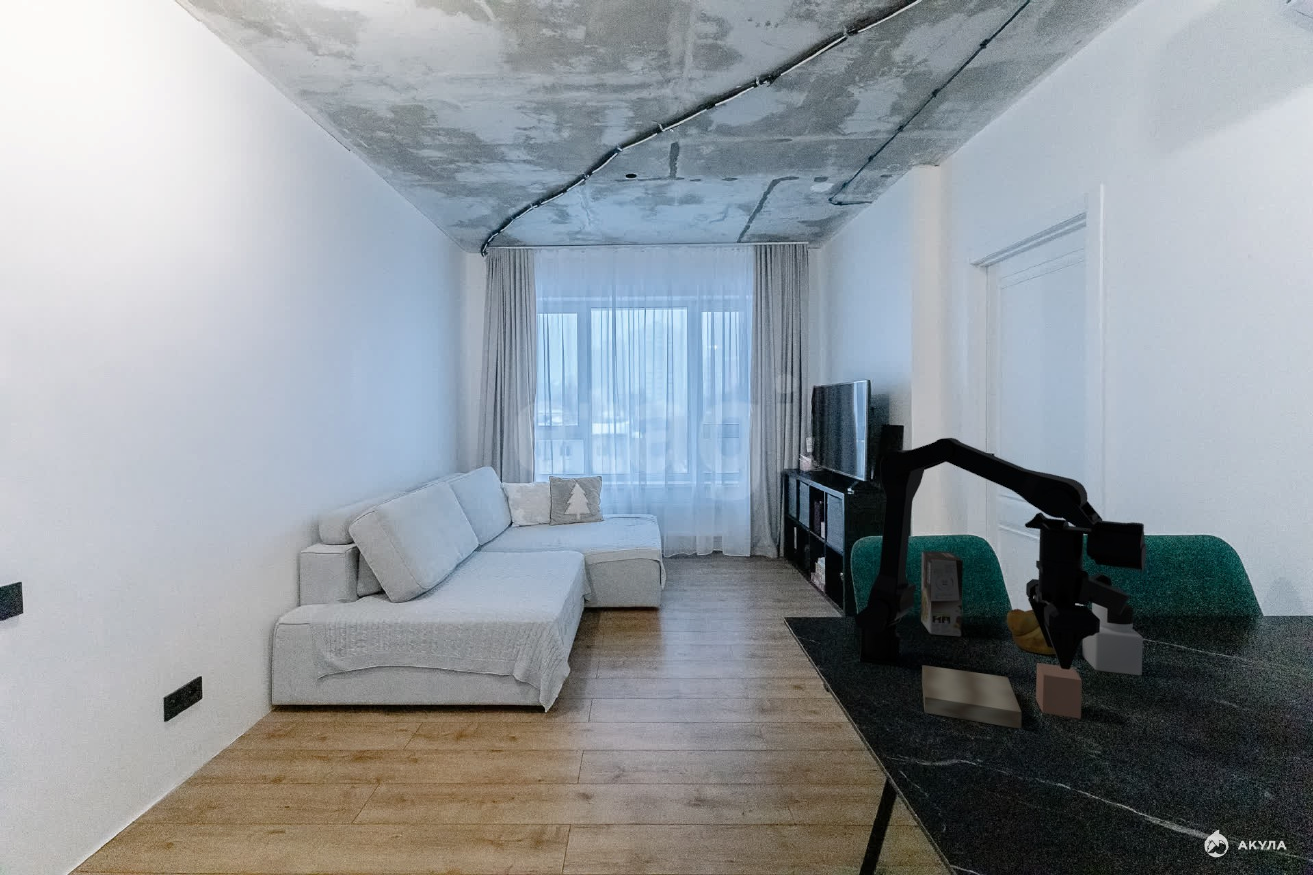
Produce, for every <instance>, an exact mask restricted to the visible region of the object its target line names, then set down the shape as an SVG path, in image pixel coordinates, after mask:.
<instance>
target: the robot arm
mask: <svg viewBox="0 0 1313 875" xmlns="http://www.w3.org/2000/svg"><path fill="white" fill-rule="evenodd" d="M944 463H949V464H950V465H953V466H954V467H957V468H960V469H962V470H965V471H967V472H969V473H972V474H973V475H975V476H978V477H981V478H983V479H986V480H987V481H990V482H992V483H994V484H996V485H999V486H1001V487H1002V488H1003V487H1004V488H1005V489H1008V490H1010V491H1012V492H1014V493H1015V494H1017V495H1019V497H1021V498H1022V499H1023V500H1024V501H1025V502H1027V503H1028V504H1030V505H1031V506H1033V507H1035V509H1038V510H1039V511H1041V512H1038V513H1036V514H1035V515H1034V517H1033V518H1032V519H1031V520H1029V521H1027V522H1025V523H1024V526H1025V528H1027V529H1033V530H1034V529H1036V530H1039V551H1038V552H1039V554H1038V556H1039V559H1038V560H1036V562H1035V567H1036V569H1037V570H1038V579H1036V578H1031V579H1030V580H1029V581H1028V582H1027V583H1026V584H1025V588H1026V589H1025V595H1026V596H1027V597H1028V598H1027V601H1028V603H1029V605H1030V607H1031V610H1033V612H1034V615H1035V617H1036V620H1037V622H1038V624H1039V627H1040V629H1041V632H1042V634H1043V637H1044V639H1045V642H1046V644H1047V646H1048V647H1050V648H1054V651H1055V654H1054V655H1055V657H1056V659H1057V661H1058V664H1059V666H1060V667H1061V668H1062V669H1067V670H1069V669H1070V667H1072V665H1073V662H1074V659H1075V657H1076V654H1077V652H1078V649H1079V646H1080V645H1081V642H1082V641H1083V639H1084V638H1086V637H1088V636H1093V635H1095V634H1096V633H1100V619H1099V618H1098V617H1097V616H1096V615H1095V614H1094V613H1093V612H1092V609H1090V608H1088V606H1090V603H1091V604H1092V603H1094V604H1097V605H1099V606H1102V607H1104V608H1107V609H1109V610H1111V612H1113V613H1115V614H1118V615H1121V613H1122V611H1123V609H1124V607H1125V605H1126V603H1127V604H1128V601H1129V599H1130V597H1131V596H1130V595H1129V594H1128V593H1126V592H1125V591H1124V590H1122V589H1120V588H1118V587H1117V586H1115V585H1114V586H1113V584H1112V578H1110V576H1108V575H1106V574H1103V573H1100V572H1096V573H1095V574H1093V575H1092V576H1090V575H1089V572H1088V571H1087V570H1086V569H1085V568H1084V542H1085V540H1084V539H1085V538H1084V537H1085V535H1086V545H1085V546H1086V556H1087V557H1089V558H1090V560H1093V561H1094V562H1095V564H1096V565H1099V566H1105V567H1111V568H1112V567H1113V568H1120V569H1121V568H1122V569H1128V570H1133V571H1142V572H1144V570H1145V566H1146V561H1147V560H1146V558H1147V547H1148V546H1147V543H1146V542H1145V539H1146V538H1145V532H1144V530H1145V525H1144V523H1141V522H1120V521H1119V522H1118V521H1109V520H1107V521H1106V520H1103V518H1102V517H1101V516H1100V514H1099V513H1098V512H1097V511H1096V510H1095V509H1094V507H1093V506H1092V505H1091V504H1090V502H1089V501H1088V492H1087V490H1086V488H1085V486H1084V485H1083V484H1082V483H1081V482H1079V481H1078V480H1076V479H1074V478H1073V479H1072V478H1069V477H1065V476H1060V475H1057V474H1053V473H1048V472H1047V473H1046V472H1041V471H1036V470H1031V469H1028V468H1025V467H1023V466H1020V465H1018V464H1015V463H1013V462H1010V461H1007V460H1005V459H1003V458H1000V457H998V456H995V455H993V454H990V453H988V452H985V451H983V450H981V449H978V448H977V447H973V446H970V445H968V444H966V443H963V442H961V441H960V440H959V439H957V438H956V437H955V438H954V437H944V438H942V437H941V438H939V439H937V440H935V441H934V442H933V441H932V442H931V443H928V444H924V445H922V446H919V447H916V448H913V449H903V450H893V451H890V452H888V453H886V454H885V455H884V456H882V458H881V460H880V463H879V471H880V484H881V487H882V489H883V491H884V495H885V507H884V508H885V509H884V516H883V517H884V518H883V527H882V537H881V551H880V561H879V570H878V574H877V575H876V577H875V579H874V581H873V584H872V585H871V588H870V591H869V594H868V595H869V596H868V598H867V602H866V607H865V608H864V607H863V609H861V610H860V611H858V613H857V614H855V615H854V617H853V618H854V622H855V625H856V627H857V628H859V629H860V648H859V649H860V650H859V656H858V659H859V661H863V662H864V661H865V662H871V663H879V664H883V665H884V664H887V665H891V666H894V665H895V666H896V665H897V660H899V659H900V633H899V632H897V624H898V623H900V621H901V619H902V617H903V616H905V615H907V614H908V613H909V612H910V611H911V608H912V607H914V606H915V605H916V603H915V598H914V596H915V593H916V587H917V585H916V584H915V583H909V581H908V577H907V575H906V572H907V571H906V569H907V558H908V551H909V550H908V549H909V540H910V529H911V520H912V519H911V518H912V510H913V509H912V508H913V500H914V497H915V496H916V495H917V492H918V489H919V487H920V485H921V483H922V479H923V477H924V473H925V470H928V469H931V468H933V467H936V466H939V465H941V464H944ZM1044 514H1045V515H1047V516H1049V517H1051V518H1049V517H1046V516H1045V515H1044Z"/></svg>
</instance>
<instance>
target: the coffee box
mask: <svg viewBox="0 0 1313 875" xmlns="http://www.w3.org/2000/svg"><path fill="white" fill-rule="evenodd" d="M963 567H964V560H963V559H962V558H960V557H959V556H958V555H956V554H955V553H953V552H951V551H944V550H943V551H941V550H936V551H935V550H934V551H933V550H931V551H929V550H928V551H927V550H922V551H921V590H920V591H921V595H920V597H921V602H920V603H921V604H920V605H921V606H920V607H921V608H920V609H921V613H920V614H921V616H920V619H921V620H920V622H921V623H922V624H923V626H924V627H925V628H926V630H927V631H928V633H929V634H930V635H935V636H936V635H938V636H939V635H940V636H951V637H961V636H962V618H963V617H962V615H963V608H962V607H963V604H962V603H963V573H964V572H963V570H964V568H963Z"/></svg>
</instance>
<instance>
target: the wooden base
mask: <svg viewBox="0 0 1313 875" xmlns="http://www.w3.org/2000/svg"><path fill="white" fill-rule="evenodd" d="M921 668H922V669H921V683H922V695H923V696H922V697H923V698H922V699H923V709H924V714H930V715H937V716H943V717H949V718H956V719H959V720H960V719H961V720H966V721H973V722H979V723H984V724H985V723H986V724H990V725H996V726H1003V727H1008V728H1014V729H1020V730H1022V710H1021V707H1020V706H1019V703H1018V700H1017V698H1016V695H1015V693H1014V691H1013V687H1012V686H1011V682H1010V680H1009V678H1008V676H1000V675H996V674H988V673H987V674H986V673H979V672H974V671H967V670H960V669H959V670H958V669H952V668H945V667H937V666H932V665H931V666H930V665H924V664H923V665H922V666H921Z"/></svg>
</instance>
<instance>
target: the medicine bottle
mask: <svg viewBox="0 0 1313 875" xmlns="http://www.w3.org/2000/svg"><path fill="white" fill-rule="evenodd" d="M1091 604H1092V605H1091V608H1092V609H1091V611H1092V612H1093V613H1094V614H1095V615H1096V616H1097V617H1098V618H1099V619H1100V633H1096V634H1095V635H1093V636H1088V637H1086V638H1084V639H1082V653H1081V654H1082V657H1083V659H1085V660H1086V662H1087V663H1089V665H1090V666H1091V667H1092V668H1093V669H1094V670H1095V671H1097V672H1105V673H1106V672H1107V673H1108V672H1109V673H1116V674H1123V675H1124V674H1126V675H1133V676H1142V674H1143V644H1144V642H1143V640H1144V639H1143V636H1142V635H1141V634H1139V633H1138V632H1137V631H1135V629H1134V628H1133V626H1134V608H1133V606H1132V605H1131V604H1129V603H1128V602H1127V603H1126V605H1125V607H1124V609H1123V611H1122V613H1121V615H1118V614H1115V613H1113V612H1111V610H1109V609H1107V608H1104V607H1102V606H1099V605H1097V604H1094V603H1092V602H1091Z"/></svg>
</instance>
